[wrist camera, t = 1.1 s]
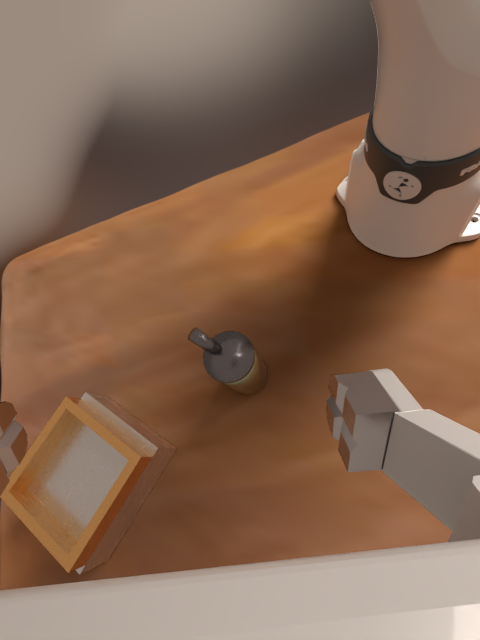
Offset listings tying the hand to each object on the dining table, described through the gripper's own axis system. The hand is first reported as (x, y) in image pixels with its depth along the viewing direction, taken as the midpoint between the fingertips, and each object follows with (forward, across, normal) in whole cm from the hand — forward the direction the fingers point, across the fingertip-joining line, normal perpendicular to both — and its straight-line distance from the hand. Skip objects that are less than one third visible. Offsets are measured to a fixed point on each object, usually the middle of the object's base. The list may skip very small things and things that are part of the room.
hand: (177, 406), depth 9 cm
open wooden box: (+24, +15, +29) cm, 40 cm away
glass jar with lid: (+27, -4, +19) cm, 34 cm away
